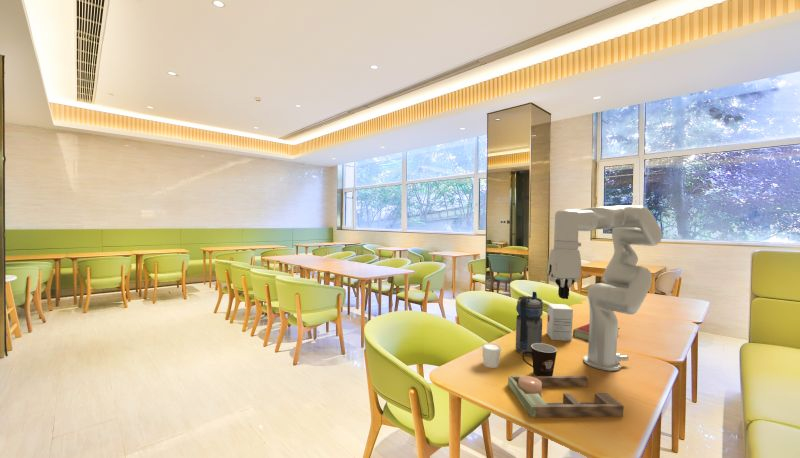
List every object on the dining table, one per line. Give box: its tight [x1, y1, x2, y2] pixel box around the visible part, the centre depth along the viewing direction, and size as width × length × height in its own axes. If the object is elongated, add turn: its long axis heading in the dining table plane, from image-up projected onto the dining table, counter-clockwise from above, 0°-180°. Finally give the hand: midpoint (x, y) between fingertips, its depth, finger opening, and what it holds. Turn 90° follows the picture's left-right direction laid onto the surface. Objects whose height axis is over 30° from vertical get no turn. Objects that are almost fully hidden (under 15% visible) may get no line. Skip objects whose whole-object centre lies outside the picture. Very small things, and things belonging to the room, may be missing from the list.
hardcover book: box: [572, 323, 621, 341], centre depth 166 cm, size 12×21×4 cm, turn 126°
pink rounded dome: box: [518, 375, 543, 398], centre depth 110 cm, size 7×7×4 cm
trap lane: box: [507, 374, 625, 418], centre depth 108 cm, size 27×18×3 cm
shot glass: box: [481, 343, 502, 369], centre depth 132 cm, size 7×7×7 cm
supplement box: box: [546, 303, 574, 342], centre depth 163 cm, size 9×9×15 cm
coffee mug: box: [521, 343, 558, 376], centre depth 124 cm, size 12×9×10 cm
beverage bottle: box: [515, 291, 544, 357], centre depth 143 cm, size 10×13×25 cm
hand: (563, 297), depth 120 cm, fingers closed
